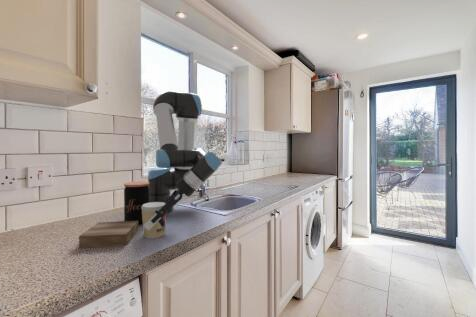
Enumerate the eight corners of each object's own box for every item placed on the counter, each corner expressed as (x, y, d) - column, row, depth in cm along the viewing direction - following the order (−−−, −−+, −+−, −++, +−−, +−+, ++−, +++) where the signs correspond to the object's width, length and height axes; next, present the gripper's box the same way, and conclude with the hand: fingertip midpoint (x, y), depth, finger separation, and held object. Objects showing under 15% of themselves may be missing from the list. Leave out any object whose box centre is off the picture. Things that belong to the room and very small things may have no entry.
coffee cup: (158, 240, 85) (158, 208, 84) (136, 237, 86) (136, 206, 86) (171, 231, 94) (171, 202, 93) (150, 229, 96) (150, 201, 95)
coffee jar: (119, 223, 103) (118, 183, 102) (138, 217, 112) (138, 180, 112) (135, 227, 98) (135, 185, 97) (154, 220, 108) (154, 182, 107)
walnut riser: (99, 231, 92) (99, 222, 92) (138, 230, 94) (138, 220, 94) (79, 247, 77) (78, 236, 77) (126, 245, 80) (126, 234, 79)
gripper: (195, 196, 79) (150, 240, 78) (196, 185, 104) (162, 218, 102) (179, 181, 78) (133, 226, 76) (185, 173, 103) (150, 207, 101)
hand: (150, 222), depth 89 cm, fingers open, 13 cm apart
